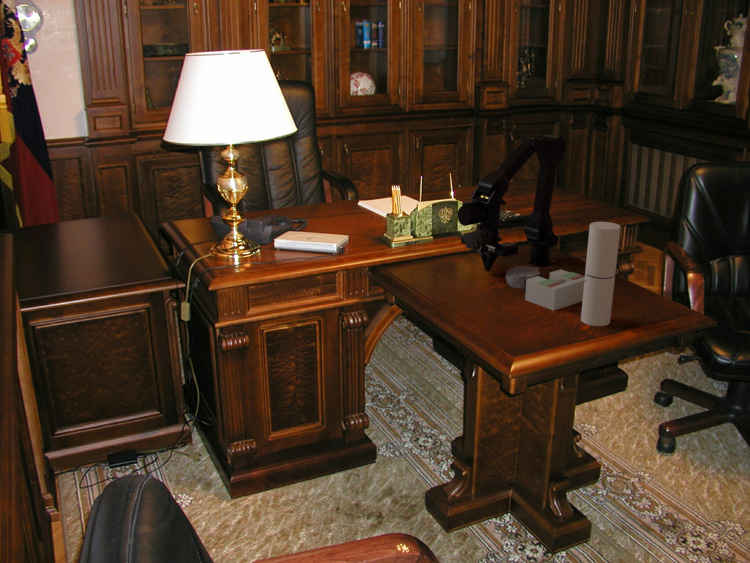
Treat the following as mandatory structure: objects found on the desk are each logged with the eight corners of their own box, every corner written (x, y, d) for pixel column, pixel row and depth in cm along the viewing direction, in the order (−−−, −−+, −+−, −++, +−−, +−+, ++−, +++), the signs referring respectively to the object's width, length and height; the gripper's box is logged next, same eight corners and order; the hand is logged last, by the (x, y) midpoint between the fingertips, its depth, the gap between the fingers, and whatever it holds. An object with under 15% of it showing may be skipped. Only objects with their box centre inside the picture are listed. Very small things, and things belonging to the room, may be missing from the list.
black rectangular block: (540, 286, 210) (541, 269, 208) (565, 295, 203) (566, 277, 201) (523, 291, 206) (524, 274, 204) (548, 300, 199) (549, 283, 197)
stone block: (508, 294, 211) (543, 289, 209) (505, 278, 209) (541, 273, 208) (506, 282, 222) (539, 277, 220) (503, 267, 221) (537, 261, 219)
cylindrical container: (593, 328, 182) (603, 230, 174) (575, 318, 188) (583, 223, 180) (616, 323, 185) (626, 227, 177) (597, 313, 191) (606, 220, 183)
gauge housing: (558, 289, 209) (560, 268, 207) (587, 299, 201) (589, 277, 199) (525, 300, 201) (526, 278, 199) (553, 310, 193) (555, 288, 191)
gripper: (448, 218, 218) (446, 268, 223) (493, 231, 204) (490, 284, 209) (475, 213, 224) (473, 261, 230) (521, 225, 210) (517, 277, 215)
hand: (487, 271), depth 221 cm, fingers closed
